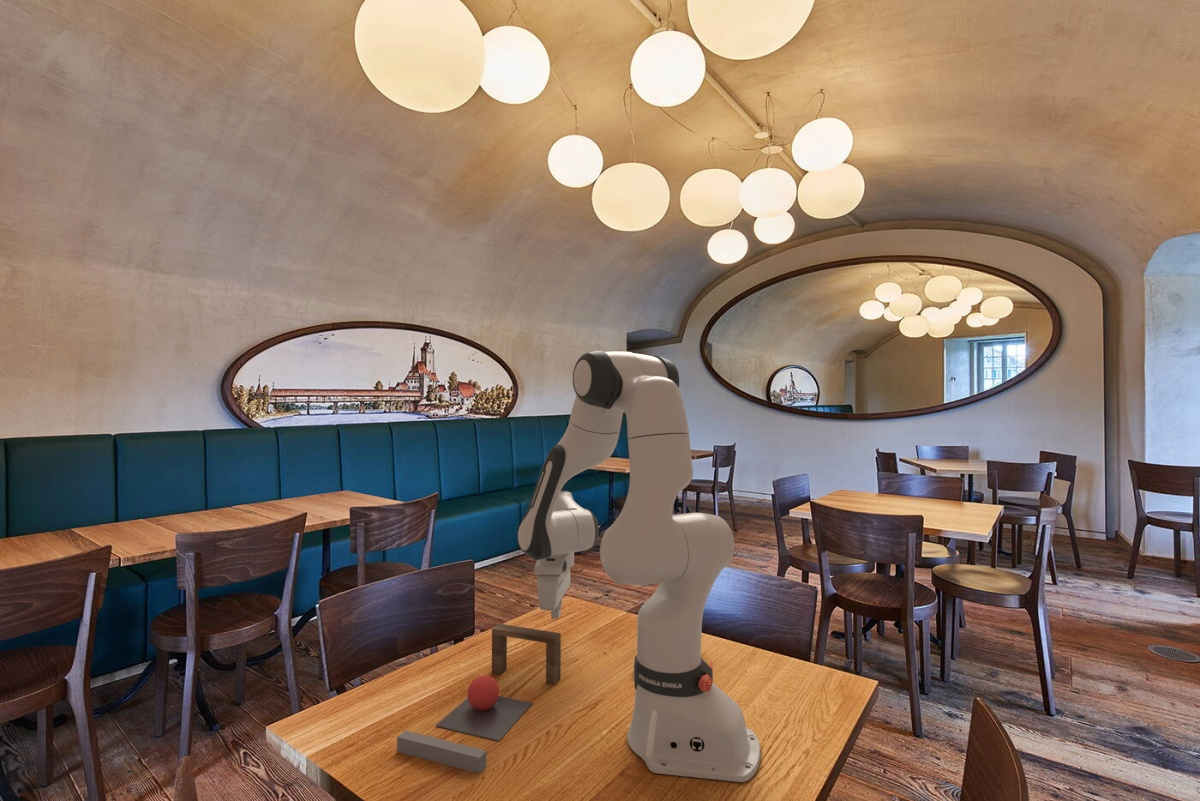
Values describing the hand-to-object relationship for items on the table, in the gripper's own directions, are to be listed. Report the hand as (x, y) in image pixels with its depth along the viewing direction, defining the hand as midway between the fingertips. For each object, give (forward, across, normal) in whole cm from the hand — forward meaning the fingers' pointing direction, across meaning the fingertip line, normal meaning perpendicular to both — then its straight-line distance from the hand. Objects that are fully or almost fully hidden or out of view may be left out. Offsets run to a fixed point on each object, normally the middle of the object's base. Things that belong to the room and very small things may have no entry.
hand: (556, 616), depth 133 cm
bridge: (+8, +14, -4) cm, 16 cm away
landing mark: (+8, +29, -7) cm, 31 cm away
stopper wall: (+8, +43, -10) cm, 45 cm away
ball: (+5, +28, -8) cm, 29 cm away
